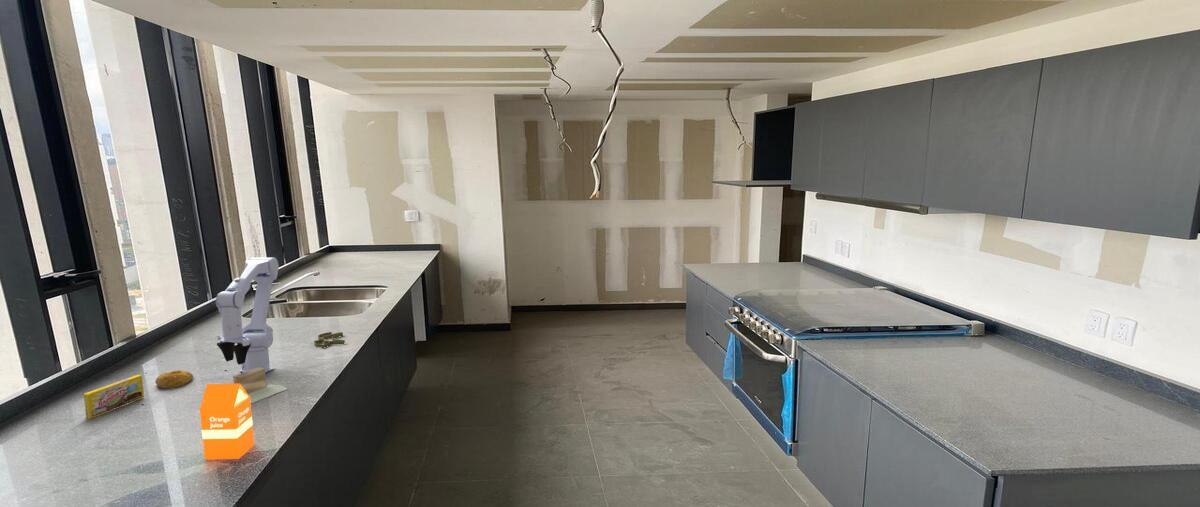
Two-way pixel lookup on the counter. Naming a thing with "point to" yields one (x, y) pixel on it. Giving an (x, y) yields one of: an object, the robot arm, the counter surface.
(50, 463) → the counter surface
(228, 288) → the robot arm
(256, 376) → the maple tile
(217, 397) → the orange juice
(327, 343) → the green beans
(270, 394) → the sage mat
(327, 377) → the counter surface
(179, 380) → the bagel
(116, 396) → the candy box
